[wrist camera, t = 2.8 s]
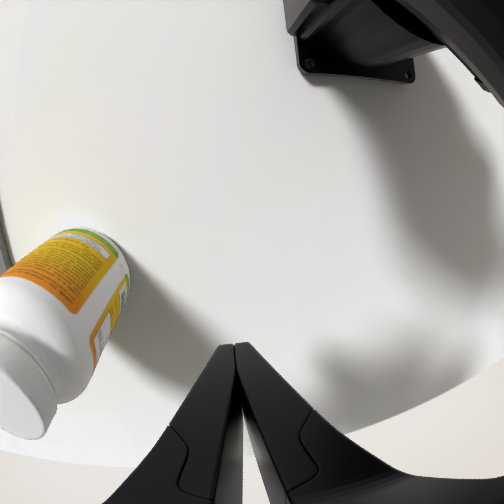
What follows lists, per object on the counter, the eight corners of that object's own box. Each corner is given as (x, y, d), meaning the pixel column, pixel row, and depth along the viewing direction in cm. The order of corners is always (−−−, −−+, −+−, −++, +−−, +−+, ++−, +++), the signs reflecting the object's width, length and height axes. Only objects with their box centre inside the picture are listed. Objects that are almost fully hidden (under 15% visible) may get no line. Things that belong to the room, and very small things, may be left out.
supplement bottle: (33, 242, 14) (-82, 336, 5) (108, 210, 14) (-15, 309, 5) (72, 323, 16) (3, 448, 7) (148, 303, 16) (99, 456, 7)
